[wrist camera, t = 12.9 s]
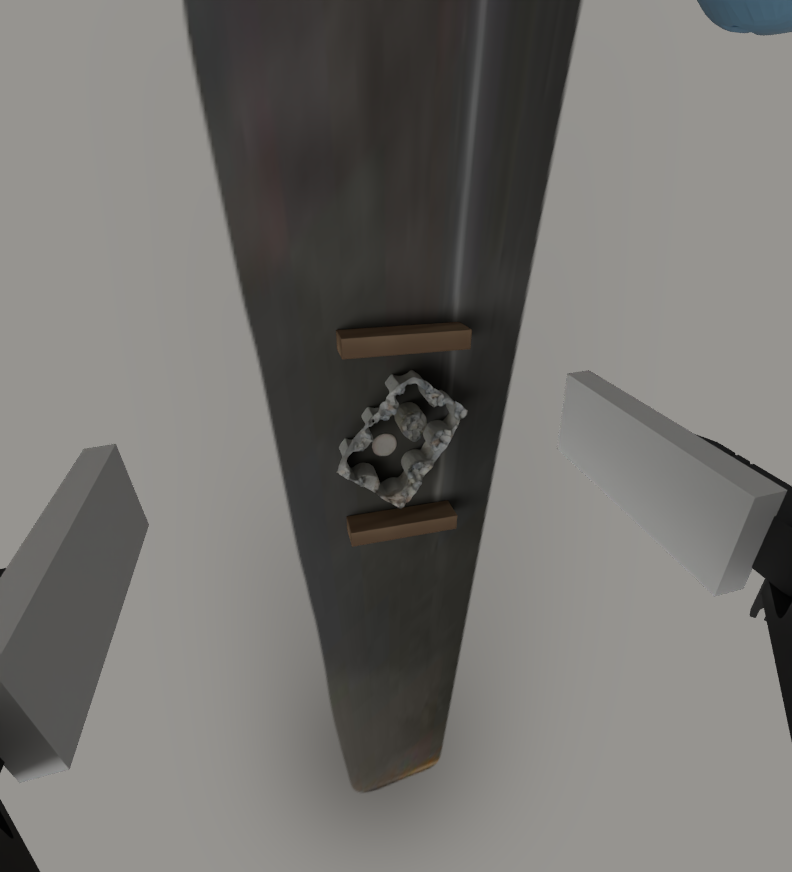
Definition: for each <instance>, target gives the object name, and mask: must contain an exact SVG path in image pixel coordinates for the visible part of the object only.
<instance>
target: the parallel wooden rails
mask: <svg viewBox="0 0 792 872" xmlns="http://www.w3.org/2000/svg"><path fill="white" fill-rule="evenodd" d="M471 334H472V330H471V329H470V328H468V327H467V326H465V325H463V324H462V323H460V322H451V323H435V324H420V325H405V326H390V327H375V328H360V329H345V330H336V338H337V350H338V352H339V354H340V356H341V358H342V359H353V358H365V357H377V356H390V355H402V354H414V353H427V352H439V351H451V350H464V349H470V347H471ZM456 525H457V514H456V513H455V511H454V510H453V508H452V506H451V505H450V503H449V502H448V500H447V501H441V502H435V503H428V504H422V505H416V506H410V507H403V508H402V509H399V508H397V509H391V510H385V511H378V512H372V513H366V514H360V515H353V516H347V530H348V534H349V537H350V541H351V544H352V547H353V546H358V545H364V544H370V543H376V542H381V541H387V540H393V539H398V538H404V537H410V536H415V535H421V534H427V533H433V532H438V531H444V530H450V529H455V528H456Z"/></svg>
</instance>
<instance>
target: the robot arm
mask: <svg viewBox="0 0 792 872" xmlns="http://www.w3.org/2000/svg"><path fill="white" fill-rule="evenodd" d="M697 1H698V3H699V4H700V6H701V8H702V10H703V11H704V13H705V14H706V15H707V17H708V18H709V19H710V20H711V21H712V22H713V23H715V24H716V25H718V26H719V27H721V28H723V29H725V30H727V31H730V32H739V33H748V32H752V33H754V34H757V35H774V34H781V33H787V32H792V0H697ZM557 449H558V450H559V451H560V452H561V453H562V454H563V455H564V456H565V457H566V458H567V459H568V460H570V461H571V462H572V463H573V464H574V465H575V466H576V467H577V468H578V469H579V470H580V471H581V472H582V473H583V474H585V476H587V477H588V478H589V479H590V480H591V481H592V482H593V483H594V484H595V485H596V486H597V487H598V488H599V489H600V490H601V491H603V492H604V493H605V494H606V495H607V496H608V497H609V498H610V499H611V500H612V501H613V502H614V503H615V504H616V505H617V506H619V507H620V508H621V509H622V510H623V511H624V512H625V513H626V514H627V515H628V516H629V517H630V518H631V519H632V520H633V521H635V522H636V523H637V524H638V525H639V526H640V527H641V528H642V529H643V530H644V531H645V532H646V533H647V534H648V535H649V536H651V537H652V538H653V539H654V540H655V541H656V542H657V543H658V544H659V545H660V546H661V547H662V548H663V549H665V550H666V551H667V552H668V553H669V554H670V555H671V556H672V557H673V558H674V559H675V560H676V561H677V562H678V563H680V565H681V566H683V567H684V568H685V569H686V570H687V571H688V572H689V573H690V574H691V575H692V576H693V577H694V578H695V579H696V580H697V581H699V582H700V583H701V584H702V585H703V586H704V587H705V588H706V589H707V590H708V591H709V592H710V593H711V594H713V596H718V595H722V594H726V593H729V592H733V591H737V590H741V589H743V588H744V586H745V584H746V582H747V579H748V577H749V575H750V572H751V570H752V568H753V569H754V570H756V571H757V572H758V573H759V574H761V575H762V576H763V577H764V578H765V580H764V582H763V584H762V586H761V589H760V591H759V593H758V595H757V597H756V599H755V601H754V604H753V606H752V608H751V611H750V616H751V617H754V618H756V616H757V614H758V612H759V610H760V609H762V608H764V610H765V615H766V617H765V619H764V620H765V621H767V625H768V629H769V634H770V639H771V644H772V649H773V654H774V658H775V663H776V668H777V673H778V677H779V682H780V687H781V692H782V697H783V702H784V707H785V711H786V716H787V721H788V726H789V730H790V735H791V740H792V487H791V486H790V485H789V484H787V483H785V482H783V481H782V480H780V479H778V478H777V477H775V476H773V475H772V474H770V473H768V472H767V471H765V470H763V469H761V468H760V467H758V466H756V465H755V464H750V461H748V460H746V459H745V458H743V457H741V456H739V455H735V453H734V452H732V451H731V450H729V449H728V448H726V447H724V446H723V445H721V444H719V443H718V442H715V441H712V440H710V439H707V438H704V437H701V436H698V435H696V434H693V433H692V432H690V431H688V430H686V429H685V428H684V427H682V426H680V425H679V424H677V423H675V422H674V421H672V420H670V419H669V418H667V417H665V416H664V415H662V414H660V413H659V412H657V411H655V410H654V409H652V408H651V407H649V406H647V405H645V404H644V403H642V402H640V401H639V400H637V399H636V398H634V397H632V396H631V395H629V394H627V393H626V392H624V391H622V390H621V389H619V388H617V387H616V386H614V385H612V384H611V383H609V382H607V381H606V380H604V379H602V378H601V377H599V376H598V375H596V374H594V373H593V372H591V371H589V370H588V371H582V372H575V373H569V374H567V379H566V386H565V394H564V401H563V408H562V415H561V423H560V430H559V437H558V445H557ZM148 525H149V524H148V522H147V519H146V517H145V514H144V512H143V510H142V507H141V505H140V502H139V500H138V497H137V495H136V493H135V490H134V487H133V485H132V483H131V480H130V478H129V475H128V473H127V470H126V468H125V465H124V463H123V461H122V458H121V456H120V453H119V451H118V449H117V446H116V444H112V445H106V446H100V447H93V448H87V449H84V450H83V451H82V453H81V454H80V456H79V457H78V459H77V460H76V462H75V463H74V465H73V466H72V468H71V469H70V471H69V473H68V474H67V476H66V478H65V479H64V480H63V482H62V483H61V485H60V487H59V488H58V489H57V491H56V493H55V494H54V496H53V497H52V499H51V500H50V502H49V503H48V505H47V506H46V508H45V509H44V511H43V513H42V514H41V516H40V517H39V519H38V520H37V522H36V523H35V525H34V526H33V528H32V530H31V531H30V533H29V534H28V536H27V537H26V539H25V540H24V542H23V543H22V545H21V547H20V548H19V550H18V551H17V553H16V554H15V556H14V557H13V559H12V560H11V562H10V563H9V565H8V566H7V568H4V569H0V772H1V770H2V767H3V765H4V766H5V767H6V768H7V769H8V770H9V772H10V773H11V774H12V775H13V776H14V777H15V778H16V779H17V780H18V781H19V782H20V783H21V782H25V781H28V780H32V779H36V778H40V777H43V776H47V775H51V774H55V773H58V772H62V771H66V770H69V769H70V766H71V763H72V760H73V757H74V754H75V751H76V748H77V745H78V741H79V738H80V735H81V732H82V729H83V726H84V723H85V720H86V717H87V713H88V710H89V708H90V705H91V701H92V698H93V695H94V692H95V689H96V686H97V683H98V680H99V677H100V673H101V670H102V668H103V664H104V661H105V658H106V655H107V652H108V649H109V646H110V643H111V640H112V637H113V634H114V631H115V628H116V624H117V621H118V618H119V615H120V612H121V609H122V606H123V603H124V600H125V596H126V594H127V591H128V587H129V584H130V581H131V578H132V575H133V572H134V569H135V566H136V563H137V560H138V557H139V554H140V550H141V547H142V544H143V541H144V538H145V535H146V532H147V529H148ZM0 872H40V871H39V869H38V867H37V865H36V863H35V862H34V860H33V858H32V856H31V854H30V852H29V851H28V849H27V847H26V845H25V843H24V842H23V840H22V838H21V836H20V834H19V832H18V831H17V829H16V827H15V825H14V823H13V821H12V820H11V818H10V816H9V814H8V813H7V811H6V809H5V807H4V805H3V804H2V801H1V800H0Z"/></svg>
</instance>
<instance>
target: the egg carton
mask: <svg viewBox="0 0 792 872" xmlns="http://www.w3.org/2000/svg"><path fill="white" fill-rule="evenodd" d="M413 383H416V384H417V385H418V390H419V391H420V393H421V394H422V395H423V396H424V398H425V399H426V400H427V401H428V402H429V404H430V405H431V406H433V407H435V406H437V405H439V406H443V405H445V404H446V407H447V409H448V411H449V413H448V415H447V416H446V418H445V419H444V420H443V421H441V420H434V421H431V422H429V423H428V424H427V419H426V416H425V415H424V414H423V412H422V411H421V410H420V407H419V406H417V405H416V404H414V403H412V402H405V403H402V404H400V405H399V403H398V401H397V400H396V397H395V396H396V395H400V394H404V392H405V386H406V385H407V384H408V385H410V384H413ZM385 385H386V386H387V388H388V389H389V393H390V394H389V395H388V396H387V398H386V401H385V402H382V403H381V405H380V407H379V408H371V407H367V408H366V410H365V411H364V412H363V414H362V419H363V420H364V422H365V426H364V428H363V429H362V430H361V431H360V432H359V433H358V434H357V435H356V436H355V437H354V439H353V440H349V439H346V438H345V439H344V440H343V441H342V443H341V444H340V446H339V449H340V451H341V454H342V456H343V457H342V459H341V461H340V464H339V468H338V471H337V473H338V474H340V475H341V476H343V477H345V478H346V479H348V480H351V481H353V482H355V483H357V484H358V485H359V486H361V487H366V488H368V489H370V490H372V491H373V492H374V493H376V494H377V495H378V496H380V497H381V498H382V499H384V500H386V501H388V502H390V503H392V504H393V505H395V506H397V507H398V508H399V509H402V508H403V507H404V506H405V504H406V503H407V502H409V501H410V500H411V498H412V496H413V495H414V494H415V493H416V492H417V490H418V489H419V487H420V485H421V484H422V478H423V477H424V475H425V474H426V473H427V472H428V471H429V470H431V468H432V467H433V465H434V462H435V461H436V460H437V458H438V457H439V456H440V454H441V453H442V452H443V451H444V450H445V449H446V448H447V446H448V444H449V442H450V441H451V439H452V437H453V435H454V432H455V430H456V429H457V427H458V425H459V422H460V420H461V419H462V418H464V417H465V416H466V414H467V412H468V411H467V410H466V409H465V408H464V407H463V406H462V405H461V404H460V403H458V402H456V401H453V400H452V399H451V398H450V396H449V395H448V394H447V393H445V392H444V391H442V390H439V391H438V390H437V389H435V388H433V387H432V386H431V385H430V384H429V383H428V382H427V381H424V380H423V379H422V378H421V377H420V375H419V374H417V373H416V372H414V371H413V370H410V371H409V372H408V373H406V374H404V375H402V376H396V375H393V374H391V375H390V376H389V378H388V379H387V381H386V382H385ZM422 410H423V409H422ZM392 415H394V417H395V422H396V423H397V425H398V426H399V428H400V430H401V431H402V433H403V434H404V436H405V437H407V438H409V439H410V440H411V441H414V442H416V441H418V440H419V439H420V438H421V435H422V433H423V436H424V438H425V440H426V441H425V443H424V444H423V446H422V448H421V450H418V449H413V450H410V451H408V452H406V453H405V454H404V455H403V457H402V460H401V465H402V467H403V469H404V471H403V473H402V474H401V475H400V476H399V477H397V478H395V477H392V478H388V479H386V480H385V481H383V482H382V483H380V481H379V478H378V476H377V474H376V471H375V469H374V467H373V466H372V465H371V464H369V463H359V464H357V465H355V466H354V467H352V468H350V467H349V465H348V463H347V458H348V456H349V455H351V453H352V452H355V451H364V449H366V448H367V447H368V445H369V444H370V443H371V442H373V443H372V449H373V452H374V453H375V454H377V455H379V456H387V455H389V454H391V453H392V452H393V451H394V450H395V448H396V446H397V441H396V438H395V437H394V436H393V435H392V434H389V433H383V434H380V435H378V436H377V437H376V438H375V439H374V440H373V436H372V433H371V432H370V430H369V428H368V427H371V426H372V425H373V424H374V423H378V421H379V420H381V419H382V420H389V418H390V416H392ZM373 419H374V423H373V422H372V420H373Z"/></svg>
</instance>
